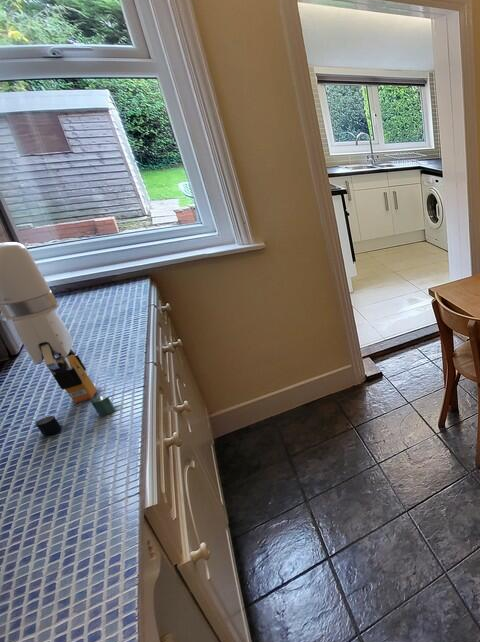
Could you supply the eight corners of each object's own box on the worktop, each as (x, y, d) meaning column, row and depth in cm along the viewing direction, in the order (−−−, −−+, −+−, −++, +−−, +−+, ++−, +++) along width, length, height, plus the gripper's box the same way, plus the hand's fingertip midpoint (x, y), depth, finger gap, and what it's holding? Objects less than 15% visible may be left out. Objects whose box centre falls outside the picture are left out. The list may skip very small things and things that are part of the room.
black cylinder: (39, 436, 80) (31, 424, 79) (55, 427, 83) (47, 415, 81) (50, 437, 80) (42, 425, 78) (65, 428, 82) (57, 416, 81)
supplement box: (78, 395, 92) (55, 358, 88) (98, 390, 93) (76, 353, 89) (72, 404, 89) (47, 365, 85) (92, 398, 91) (69, 360, 86)
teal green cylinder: (95, 415, 85) (87, 402, 84) (108, 407, 88) (100, 394, 86) (105, 416, 85) (97, 403, 83) (118, 408, 87) (110, 395, 86)
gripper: (12, 298, 86) (57, 370, 93) (-11, 325, 73) (43, 406, 81) (61, 287, 90) (100, 357, 98) (48, 312, 78) (94, 390, 85)
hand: (74, 378), depth 89 cm, fingers open, 5 cm apart
